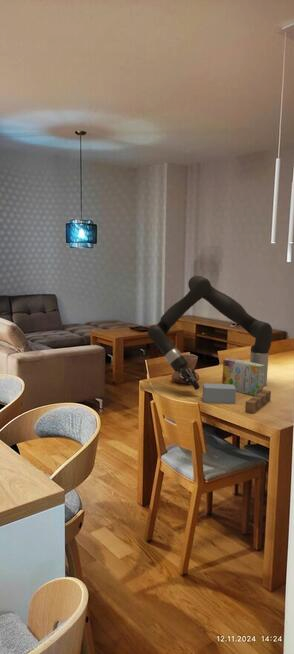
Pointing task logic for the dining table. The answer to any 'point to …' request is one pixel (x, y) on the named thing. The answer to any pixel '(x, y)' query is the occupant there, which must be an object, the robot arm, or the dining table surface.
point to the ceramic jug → (191, 364)
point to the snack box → (243, 375)
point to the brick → (219, 393)
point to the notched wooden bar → (257, 401)
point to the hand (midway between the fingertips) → (198, 388)
